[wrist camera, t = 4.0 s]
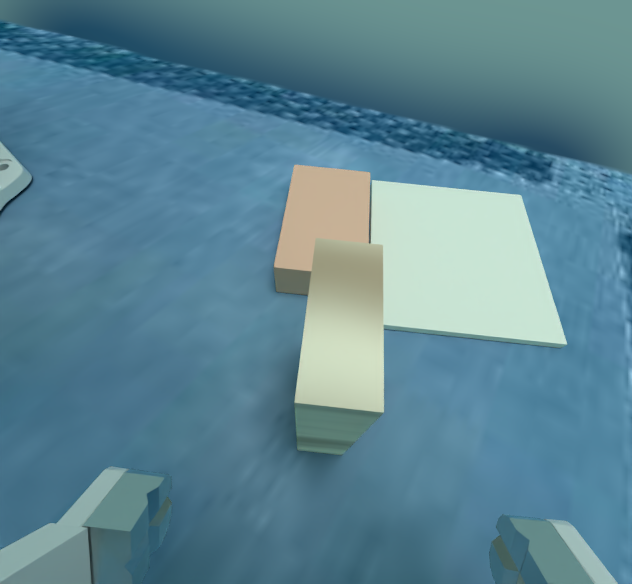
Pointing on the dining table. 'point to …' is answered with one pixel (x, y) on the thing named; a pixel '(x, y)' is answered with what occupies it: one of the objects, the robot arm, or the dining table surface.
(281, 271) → the terracotta step
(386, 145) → the dining table surface
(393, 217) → the rubber mat
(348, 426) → the birch block
